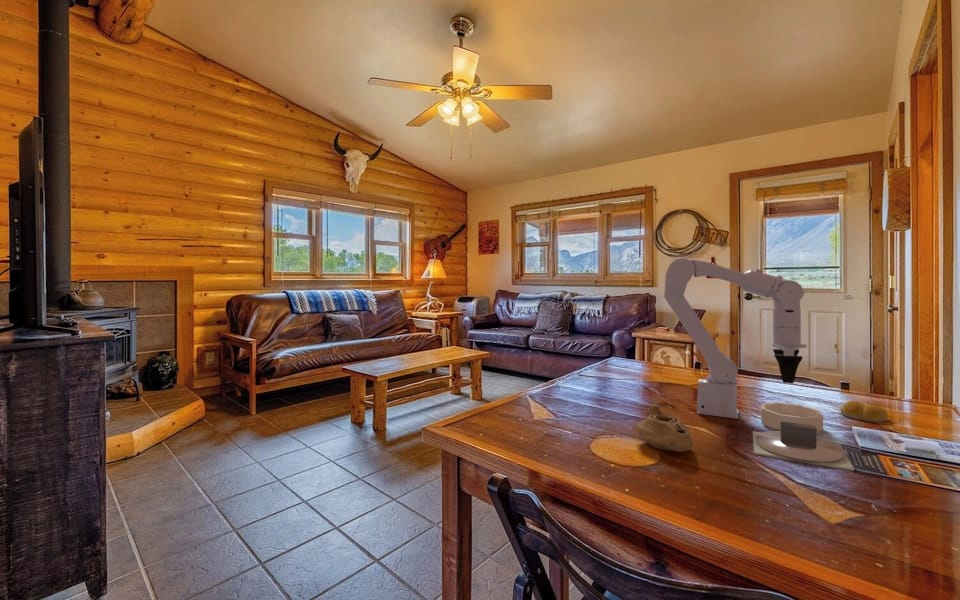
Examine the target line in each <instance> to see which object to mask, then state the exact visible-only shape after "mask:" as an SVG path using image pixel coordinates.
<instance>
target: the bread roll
mask: <svg viewBox="0 0 960 600" xmlns="http://www.w3.org/2000/svg"><path fill="white" fill-rule="evenodd" d="M840 414H841V415H842V416H844V417H847V418H849V419H850V418H851V419H854V420H859V421H860V420H863V421H865V422H869V423H870V422H872V423H882V422H886V421H888V419H889V418H888V417H889V415H888V412H887V411H886V410H885V409H884V408H883V407H881V406H879V405H875V404H864V403H862V402H860V401H856V400H848V401H846V402H845V403H843V404H842V406H841V408H840Z"/></svg>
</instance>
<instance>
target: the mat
mask: <svg viewBox="0 0 960 600" xmlns="http://www.w3.org/2000/svg"><path fill="white" fill-rule="evenodd" d="M759 433H761V432H759V431H754V430H753V431H752V444H753V445H752V446H753V454H754V455H758V456H764V457H769V458H774V459H775V458H776V459H780V460H786V461H793V462H799V463H803V464H804V463H805V464H811V465H815V466H822V467H828V468H834V469H840V470H845V471H853V472H855V468H854V466H853V465H852V463H851V461H850V459H849V457H848V455H847V454H846V452H845V450H844V448H843V447H842V445H841V443H834V442H833V443H834V444H836V445H838V446H839V447H841V448H842V449H843V451H844V459H843V460H841V461H839V462H835V463H811V462H803V461H798V460H793V459H789V458H785V457H782V456H779V455H776V454H773V453H770V452H768V451H766V450H764V449H762V448H761V447H759V446H758V445H757V443H756V435H757V434H759Z"/></svg>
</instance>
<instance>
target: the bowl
mask: <svg viewBox="0 0 960 600" xmlns="http://www.w3.org/2000/svg"><path fill="white" fill-rule="evenodd" d="M760 404H761V405H760V419H761V420H760V421H761V424H762V425H763V426H765V427H766V428H770V429H773V430H774V431H780V421H783V422H791V423H798V424H806V425H813V426H815V427H816V429H817V435H818V434H820V433H822V431H823V430H824V416H823V414H822V412H821V410H819V409H817V408H816V409H815V408H812V407H809V406H805V405H802V404H796V403H789V402H788V403H787V402H778V401H777V402H776V401H775V402H765V403H760Z"/></svg>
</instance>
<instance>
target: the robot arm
mask: <svg viewBox="0 0 960 600" xmlns="http://www.w3.org/2000/svg"><path fill="white" fill-rule="evenodd" d="M693 277H694V278H700V277H710V278H715V279H719V280H723V281H726V282H730V283H732V284H738V286H739V287H740V289H741V291H743V292H747V293H750V294H753V295H757V296H761V297H764V298H768V299H769V298H771V299H772V300H773V309H772V313H773V314H772V315H773V316H772V317H773V319H772V321H773V322H772V326H773V327H772V328H773V329H772V333H773V334H772V336H773V338H772V339H773V340H772V341H773V342H772V347H773V348H772V351H773V353H774V358H775V360H776V362H777V364H778V368H779V373H780V375H781V379H782V383H783V384H794V382H795V380H796V374H797V371H798V368H799V365H800V363H801V361H802V360H803V358H804V357H803V355H799V353H800V350H799V349H803V348H805V349H806V348H807V347H808V346H807V344H805V343H802V342H801V341H802V336H801V334H802V332H801V331H802V330H801V329H802V328H801V327H802V325H801V323H802V320H801V316H802V315H801V311H802V310H801V300H802V299H803V297H804V295H805V291H804V290H803V287H802V285H801V284H800V283H799V282H797V281H795V280H789V279H785V278H783V277H784V276H782V275H777V276H775V275H772V274H767V273H764V272H763V270H762V269H759V268H758V269H757V268H755V269H754V270H753V269H749V270H747V271H744V272H741V271H738V270H734V269H731V268H728V267H724V266H722V265H718V264H715V263H712V262H708V261H704V260H696V259H691V260H690V259H688V258H684V257H680V258H679V257H678V258H677V259H676V258H675V259H674V260H673V261H671V263H670V264H669V266H668V268H667V269H666V273H665V279H664V280H665V281H664V295H663V296H664V299H665V301H666V302H667V304H668V305H669V307H670V308H671V310H672V311H673V313H674V314H675V316H676V317H677V319H678V320H679V321H680V323H681V325H682V326H683V327H684V329H685V330H686V332H687V333H688V335H689V337H690V338H691V339H692V341H693V343H694V344H695V345H696V347H697V349H698V350H699V352H700V353H701V355H702V356H703V358H704V360H705V361H706V367H707V369H708V371H709V372H710V373H709V374H708V375H707V376H706V378H699V379H698V383H697V399H696V405H697V414H700V415H706V416H714V417H721V418H727V419H736V420H738V419H739V410H740V409H738V407H737V405H738V380H737V379H736V378H737V376H738V374H739V371H738V366H737V365H736V364H735V362H733V361H732V359H731V357H730V356H729V355H727V354H725V353H723V351H722V350H721V349H720V347H719V346H718V344H717V343H716V341H715V340H714V338H713V336H712V335H711V334H710V333H709V331H708V329H707V328H706V327H705V325H704V324H703V322H702V321H701V320H700V319H701V318H700V317H699V316H698V315H697V313H696V312H695V310H694V309H693V307H692V305H691V304H690V303H689V301H687V299H686V297H685V296H684V295H685V292H686V288H687V285H688V283H689V282H690V280H692V278H693Z"/></svg>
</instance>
